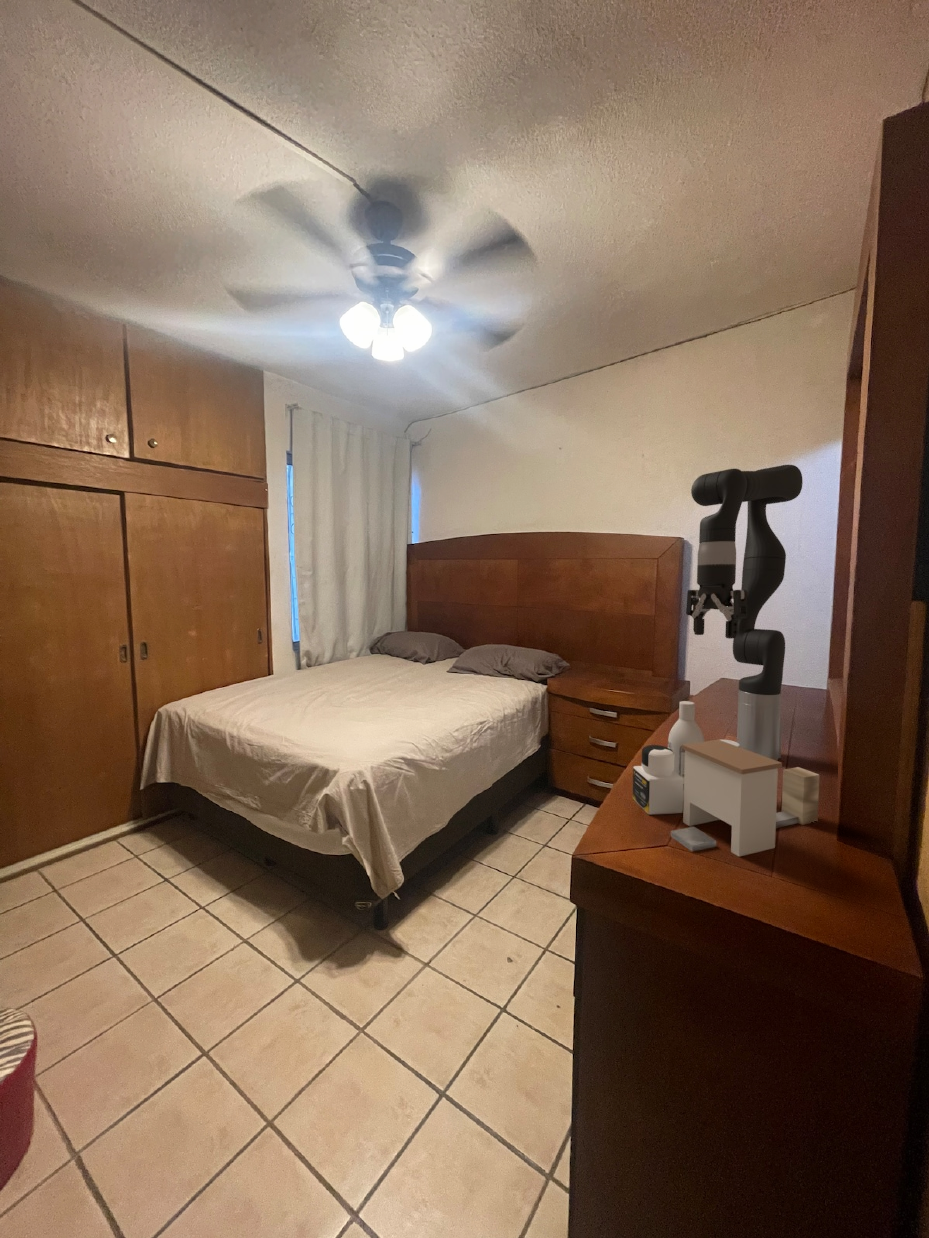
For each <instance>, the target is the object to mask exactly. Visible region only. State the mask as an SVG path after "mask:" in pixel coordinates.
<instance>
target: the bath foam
mask: <svg viewBox="0 0 929 1238" xmlns="http://www.w3.org/2000/svg"><path fill="white" fill-rule="evenodd" d="M678 708H679V710H678V713H679V715H678V716H679V717H678V719H677V721H675V723H674V724H673V725H672V728H671V729H670V731H669V733H668V739H667V748H669V749H671V750H672V751H673V752H674V772H675V773H677V774H678V775H679V776H681V777H682V778H683V802H684V769H685V750H683V749H682V745H683V744H690V743H697V742H705V737H704V734H703V732H702V729H701V728H700V727H699V725H698V723H697V722H696V721H695V716H696V715H695V711H696V709H695V708H696V704H695V702H694V701H688V700H683V701H679V707H678Z"/></svg>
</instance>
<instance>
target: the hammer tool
mask: <svg viewBox="0 0 929 1238" xmlns="http://www.w3.org/2000/svg"><path fill="white" fill-rule="evenodd" d="M781 791H782V792H781V794H782V795H781V796H782V797H781V811H779V812H776V829H778V828H782V827H787V826H791V825H795V824H799V825H801V826H803V825H809V824H812V823H811V822H813V823H815V822H814V821H817V822H818V813H819V797H820V795H819V794H820V793H819V792H820V774H818V773H815V772H813V771H811V770H808V769H805V768H802V767H799V766H796V767H791V768H786V769H782V790H781Z"/></svg>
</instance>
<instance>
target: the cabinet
mask: <svg viewBox="0 0 929 1238" xmlns="http://www.w3.org/2000/svg"><path fill="white" fill-rule="evenodd" d="M721 740H722V739H713V740H712V739H711V740H704V742H697V743H690V744H683V745H682V749H683V750H685V769H684V801H683V812H682V814H683V815H682V817H683V818H682V822H683V823H684V824H685V825H687V826H689V827H693V826H696V825H701V824H707V823H711V822H714V821H720V820H721V821H723V822H725V823H726V824H728V825H729V826H731V842H730V852H731V854H734V855H735V856H737V857H742V856H749V855H751V854H756V853H760V852H764V851H768V850H772V849H775V847H776V829H777V828H776V813H777V803H778V802H777V801H778V779H779V778H778V777H779V773H778V772H779V769H781V768H783V762H781V761H776V760H773V759H770V758H767V757H765V756H762V755H759V754H756V753H754V752H751V751H748V750H746V749H743V748H740V747H737V746H735V745H732V744H729V743H726V742H724V741H721Z"/></svg>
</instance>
